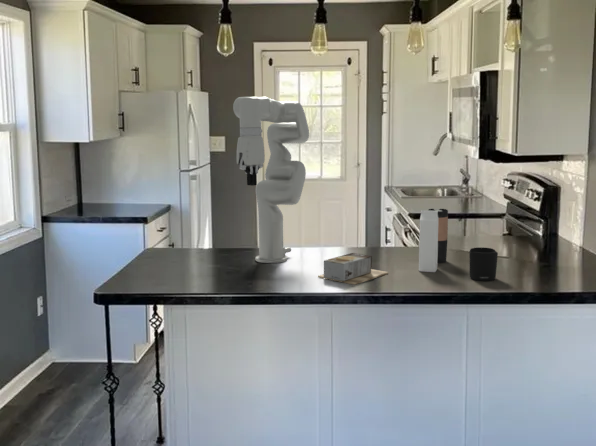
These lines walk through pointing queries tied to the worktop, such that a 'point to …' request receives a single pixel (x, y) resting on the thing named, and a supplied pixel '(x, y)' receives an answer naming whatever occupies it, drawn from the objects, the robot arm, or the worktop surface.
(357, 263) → the coffee box
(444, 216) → the travel mug
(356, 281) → the tan wooden board
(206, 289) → the worktop surface
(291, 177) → the robot arm
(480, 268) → the pen holder
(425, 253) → the milk
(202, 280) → the worktop surface
